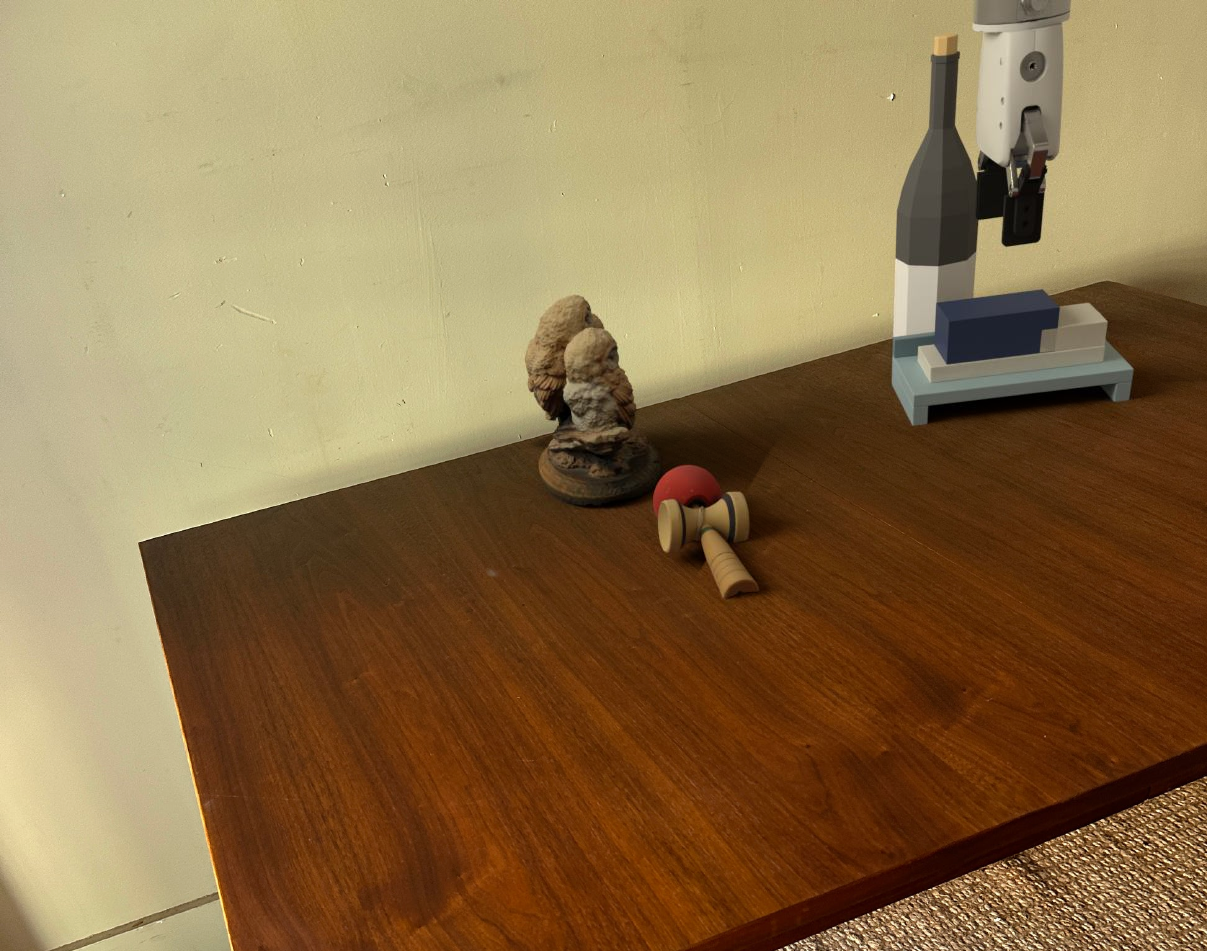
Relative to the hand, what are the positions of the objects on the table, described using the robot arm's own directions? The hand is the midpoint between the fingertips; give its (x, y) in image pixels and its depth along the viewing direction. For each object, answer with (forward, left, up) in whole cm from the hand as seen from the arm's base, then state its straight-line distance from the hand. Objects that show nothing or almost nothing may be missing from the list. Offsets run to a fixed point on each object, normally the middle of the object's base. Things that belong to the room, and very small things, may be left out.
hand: (1006, 230), depth 107 cm
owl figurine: (+35, +17, -17) cm, 42 cm away
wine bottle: (+8, -14, -17) cm, 23 cm away
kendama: (+19, +33, -17) cm, 42 cm away
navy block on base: (-1, -1, -12) cm, 12 cm away
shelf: (-1, -1, -17) cm, 17 cm away
